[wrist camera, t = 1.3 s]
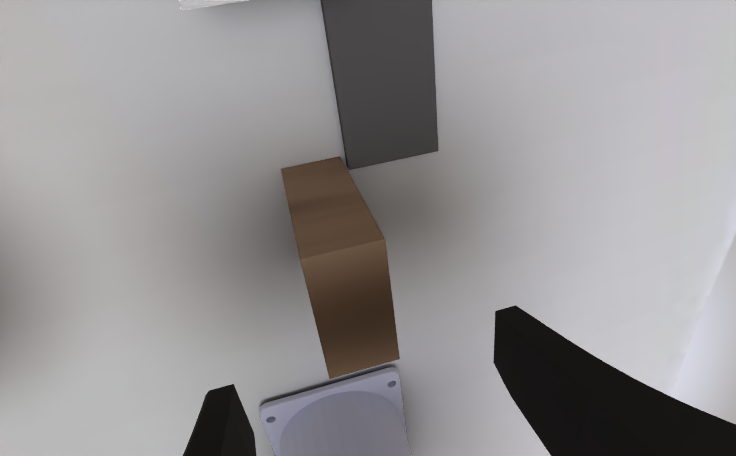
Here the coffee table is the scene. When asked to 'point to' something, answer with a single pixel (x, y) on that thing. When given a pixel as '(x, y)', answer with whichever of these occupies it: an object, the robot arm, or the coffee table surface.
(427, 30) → the pad
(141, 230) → the coffee table surface
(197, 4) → the tile
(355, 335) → the brown wooden block
